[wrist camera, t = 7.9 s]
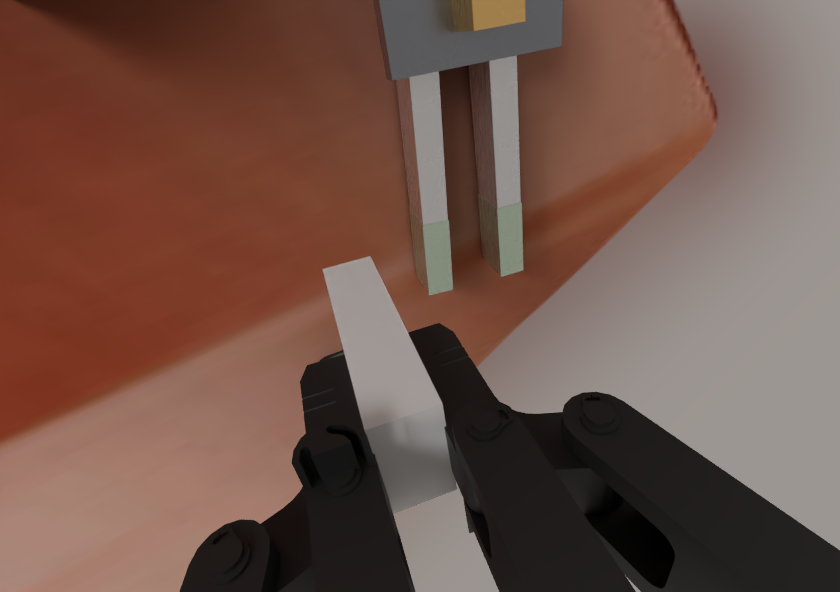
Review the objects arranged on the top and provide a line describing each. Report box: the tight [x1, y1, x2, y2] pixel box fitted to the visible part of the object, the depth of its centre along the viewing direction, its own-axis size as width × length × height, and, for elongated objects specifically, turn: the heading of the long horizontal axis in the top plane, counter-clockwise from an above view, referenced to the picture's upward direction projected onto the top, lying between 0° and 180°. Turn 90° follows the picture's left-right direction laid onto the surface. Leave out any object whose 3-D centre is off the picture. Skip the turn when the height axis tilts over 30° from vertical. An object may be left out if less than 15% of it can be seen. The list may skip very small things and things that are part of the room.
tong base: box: [468, 55, 523, 277], centre depth 25 cm, size 23×5×3 cm, turn 9°
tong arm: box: [396, 71, 453, 295], centre depth 26 cm, size 18×2×3 cm, turn 5°
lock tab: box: [373, 0, 563, 81], centre depth 20 cm, size 5×9×4 cm, turn 99°
